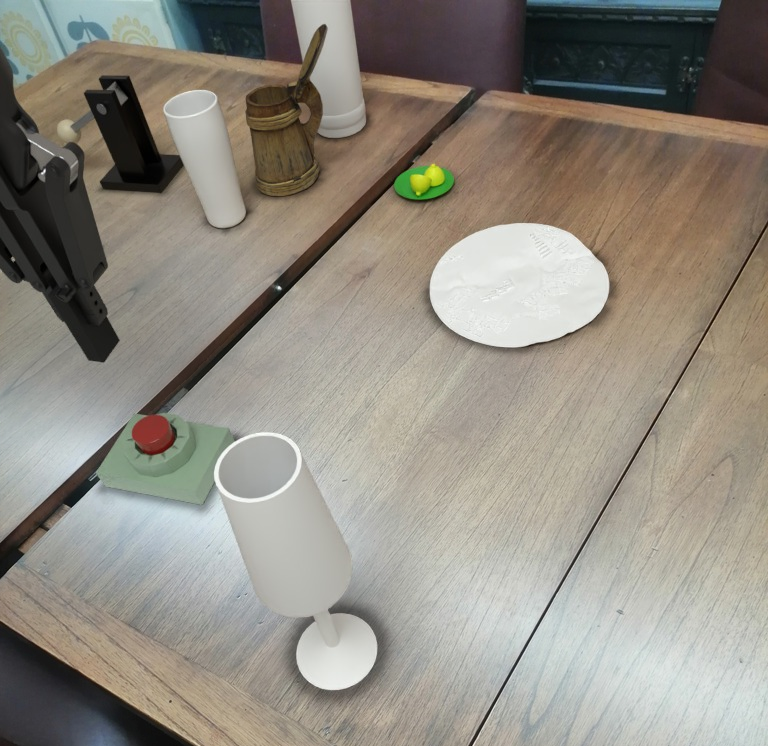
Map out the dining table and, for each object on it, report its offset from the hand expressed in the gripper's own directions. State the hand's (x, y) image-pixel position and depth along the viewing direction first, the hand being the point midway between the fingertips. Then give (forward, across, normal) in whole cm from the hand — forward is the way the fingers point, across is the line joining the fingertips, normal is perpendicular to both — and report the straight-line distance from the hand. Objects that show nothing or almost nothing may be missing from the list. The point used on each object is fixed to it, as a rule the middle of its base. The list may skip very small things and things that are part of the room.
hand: (104, 350), depth 57 cm
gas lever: (+8, -35, +50) cm, 61 cm away
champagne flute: (+16, +23, -15) cm, 31 cm away
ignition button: (+12, 0, 0) cm, 12 cm away
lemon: (+15, +13, +51) cm, 55 cm away
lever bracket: (+15, -30, +50) cm, 60 cm away
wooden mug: (+15, -5, +52) cm, 55 cm away
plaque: (+16, +29, +32) cm, 46 cm away
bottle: (+15, -4, +66) cm, 68 cm away
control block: (+15, 0, 0) cm, 15 cm away
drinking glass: (+15, -12, +41) cm, 46 cm away
